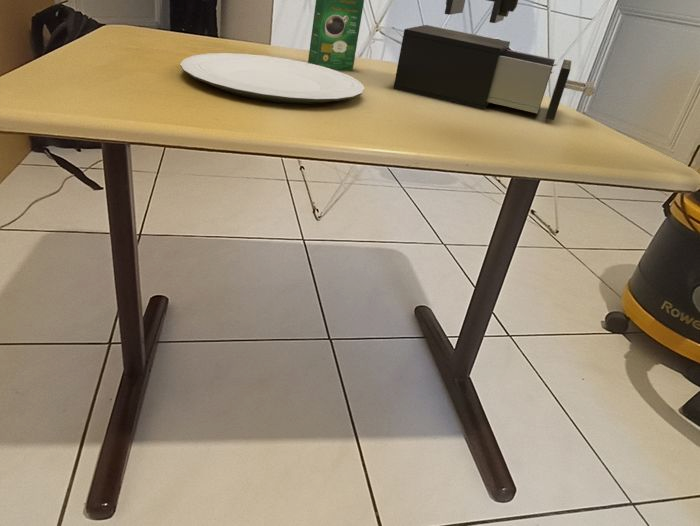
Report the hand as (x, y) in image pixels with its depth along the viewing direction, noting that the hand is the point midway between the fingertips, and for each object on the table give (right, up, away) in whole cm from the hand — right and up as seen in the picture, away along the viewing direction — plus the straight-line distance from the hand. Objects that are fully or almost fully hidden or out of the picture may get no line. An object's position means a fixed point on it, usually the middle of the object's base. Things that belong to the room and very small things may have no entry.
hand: (477, 10), depth 63 cm
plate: (-25, -4, +15) cm, 29 cm away
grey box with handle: (+14, -3, +26) cm, 30 cm away
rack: (0, -1, 0) cm, 1 cm away
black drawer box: (+2, 0, +30) cm, 30 cm away
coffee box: (-18, +4, +33) cm, 38 cm away
